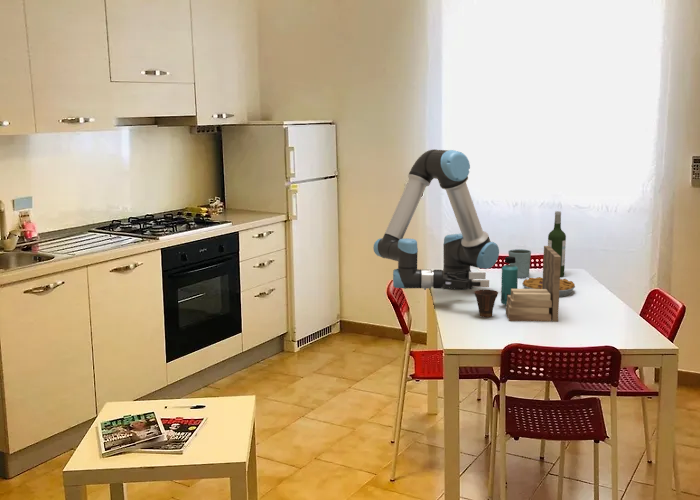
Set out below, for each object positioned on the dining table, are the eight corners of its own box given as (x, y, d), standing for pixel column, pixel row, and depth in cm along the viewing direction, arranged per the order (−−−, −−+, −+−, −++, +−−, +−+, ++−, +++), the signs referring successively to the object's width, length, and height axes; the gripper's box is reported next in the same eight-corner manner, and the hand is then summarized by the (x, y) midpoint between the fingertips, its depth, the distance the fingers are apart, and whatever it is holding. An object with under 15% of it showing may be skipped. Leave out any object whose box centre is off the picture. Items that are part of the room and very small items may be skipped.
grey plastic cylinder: (532, 278, 341) (533, 253, 338) (510, 279, 341) (510, 253, 339) (527, 274, 351) (528, 248, 348) (505, 274, 351) (506, 249, 349)
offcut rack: (501, 305, 295) (503, 245, 290) (546, 305, 294) (549, 245, 289) (509, 320, 273) (511, 256, 269) (558, 321, 272) (560, 256, 267)
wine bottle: (545, 273, 351) (548, 210, 345) (562, 274, 350) (565, 210, 344) (547, 277, 343) (550, 212, 338) (565, 277, 342) (568, 212, 337)
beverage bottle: (518, 305, 295) (519, 255, 291) (516, 309, 288) (517, 258, 285) (501, 304, 297) (503, 254, 293) (499, 308, 291) (500, 257, 287)
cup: (484, 319, 273) (483, 292, 272) (469, 317, 281) (469, 290, 280) (503, 317, 277) (503, 290, 276) (488, 314, 285) (488, 288, 284)
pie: (524, 284, 330) (525, 273, 330) (576, 288, 323) (576, 276, 322) (518, 296, 310) (519, 284, 309) (573, 300, 303) (574, 288, 302)
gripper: (431, 281, 306) (483, 281, 304) (433, 296, 281) (490, 296, 279) (431, 263, 304) (484, 263, 303) (433, 276, 280) (490, 277, 278)
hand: (487, 279), depth 291 cm, fingers open, 13 cm apart
